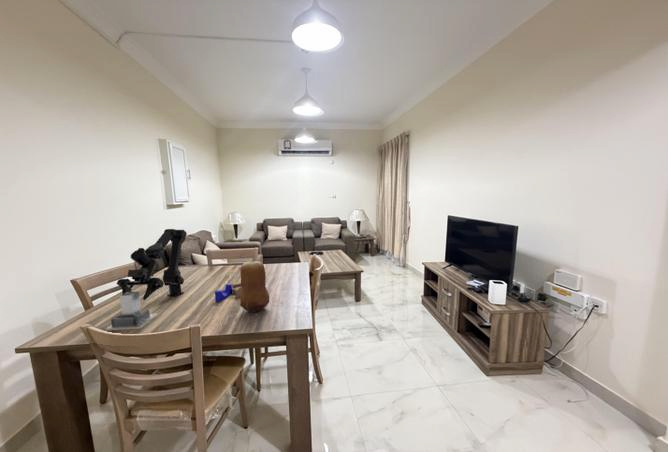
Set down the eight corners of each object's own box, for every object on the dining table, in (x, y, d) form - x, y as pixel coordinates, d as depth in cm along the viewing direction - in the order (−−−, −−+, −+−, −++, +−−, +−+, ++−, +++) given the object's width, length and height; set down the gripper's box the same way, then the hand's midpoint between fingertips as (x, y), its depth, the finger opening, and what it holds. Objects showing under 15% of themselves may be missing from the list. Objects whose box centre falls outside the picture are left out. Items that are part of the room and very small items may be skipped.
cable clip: (225, 293, 155) (224, 283, 155) (232, 293, 155) (231, 284, 154) (213, 301, 144) (212, 291, 143) (220, 302, 143) (219, 291, 142)
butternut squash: (261, 302, 140) (258, 256, 138) (274, 310, 131) (272, 261, 128) (236, 310, 131) (232, 261, 128) (248, 319, 121) (245, 266, 118)
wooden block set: (230, 281, 161) (260, 276, 169) (231, 290, 162) (260, 285, 170) (234, 289, 146) (266, 284, 154) (234, 299, 147) (266, 293, 155)
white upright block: (131, 318, 123) (127, 291, 121) (142, 318, 123) (139, 291, 121) (122, 323, 118) (119, 295, 116) (134, 323, 118) (131, 295, 116)
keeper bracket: (128, 316, 127) (127, 307, 126) (157, 315, 127) (157, 306, 127) (106, 330, 114) (105, 320, 113) (139, 328, 115) (138, 319, 114)
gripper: (116, 262, 124) (100, 293, 114) (157, 261, 125) (144, 292, 115) (130, 273, 133) (116, 303, 123) (168, 272, 134) (157, 302, 124)
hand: (133, 300), depth 121 cm, fingers open, 9 cm apart
